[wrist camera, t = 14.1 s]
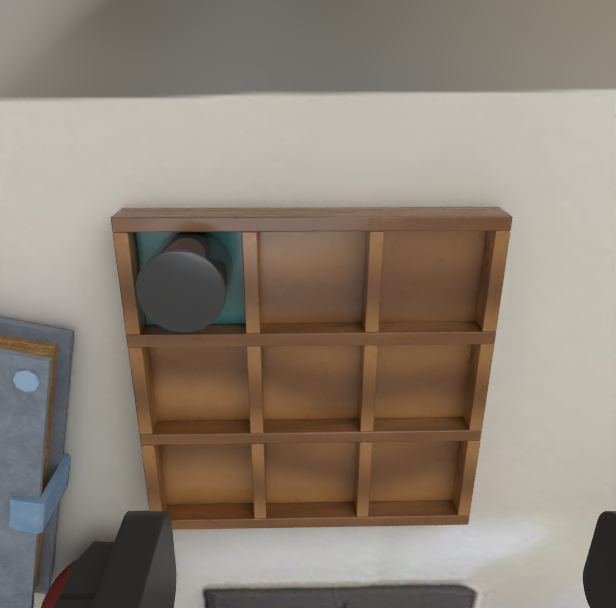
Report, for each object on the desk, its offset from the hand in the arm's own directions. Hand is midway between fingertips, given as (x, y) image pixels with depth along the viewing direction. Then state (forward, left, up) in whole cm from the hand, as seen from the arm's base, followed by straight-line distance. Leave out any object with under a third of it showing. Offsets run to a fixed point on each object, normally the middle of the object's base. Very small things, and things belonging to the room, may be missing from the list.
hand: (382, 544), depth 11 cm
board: (+9, -1, -23) cm, 25 cm away
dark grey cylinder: (+2, -7, -22) cm, 24 cm away
